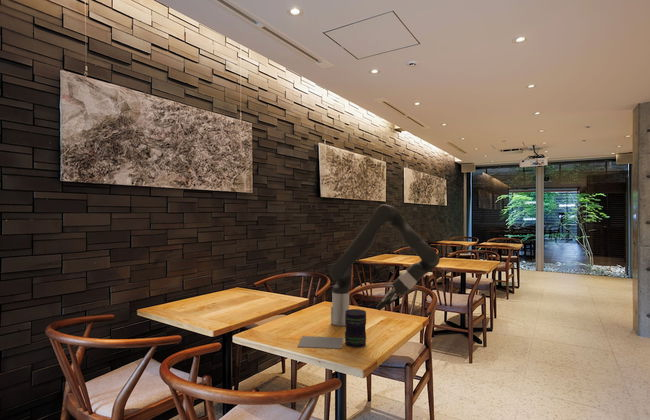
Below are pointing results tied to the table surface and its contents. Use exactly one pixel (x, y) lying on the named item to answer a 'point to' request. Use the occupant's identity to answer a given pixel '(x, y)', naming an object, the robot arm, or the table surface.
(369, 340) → the table surface
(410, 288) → the robot arm
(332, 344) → the mat
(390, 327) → the table surface
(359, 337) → the dark ribbed cylinder
